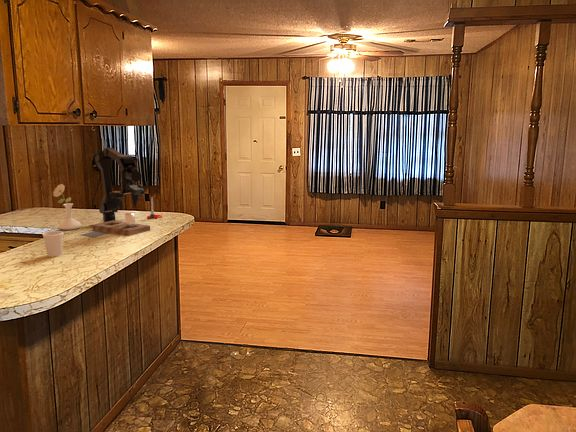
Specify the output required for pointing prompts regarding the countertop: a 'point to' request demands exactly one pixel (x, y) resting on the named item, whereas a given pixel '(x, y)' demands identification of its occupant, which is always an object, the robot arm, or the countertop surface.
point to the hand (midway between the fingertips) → (128, 208)
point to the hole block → (120, 227)
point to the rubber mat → (94, 234)
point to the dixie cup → (53, 242)
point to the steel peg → (130, 220)
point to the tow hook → (153, 211)
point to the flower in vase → (69, 221)
